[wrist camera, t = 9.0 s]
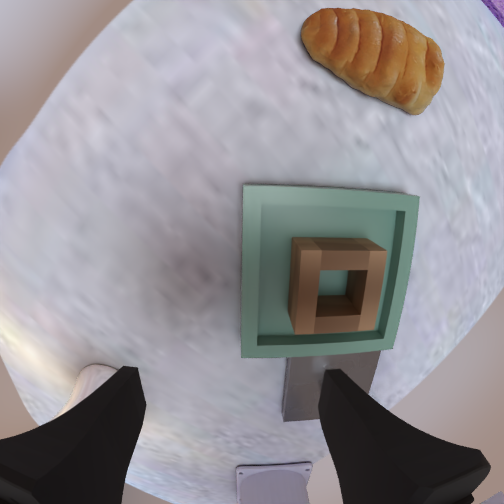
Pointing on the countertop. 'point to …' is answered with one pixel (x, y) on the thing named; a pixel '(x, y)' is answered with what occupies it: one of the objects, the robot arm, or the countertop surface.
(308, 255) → the collar
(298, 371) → the grey peg base
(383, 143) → the countertop surface
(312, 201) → the tray
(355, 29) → the pastry
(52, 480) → the robot arm
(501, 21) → the sponges
